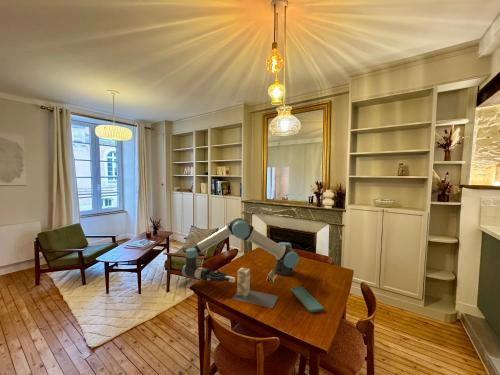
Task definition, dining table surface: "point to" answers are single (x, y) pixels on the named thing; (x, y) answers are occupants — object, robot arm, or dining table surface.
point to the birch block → (243, 282)
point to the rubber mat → (258, 299)
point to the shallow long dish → (306, 299)
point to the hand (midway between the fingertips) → (234, 279)
